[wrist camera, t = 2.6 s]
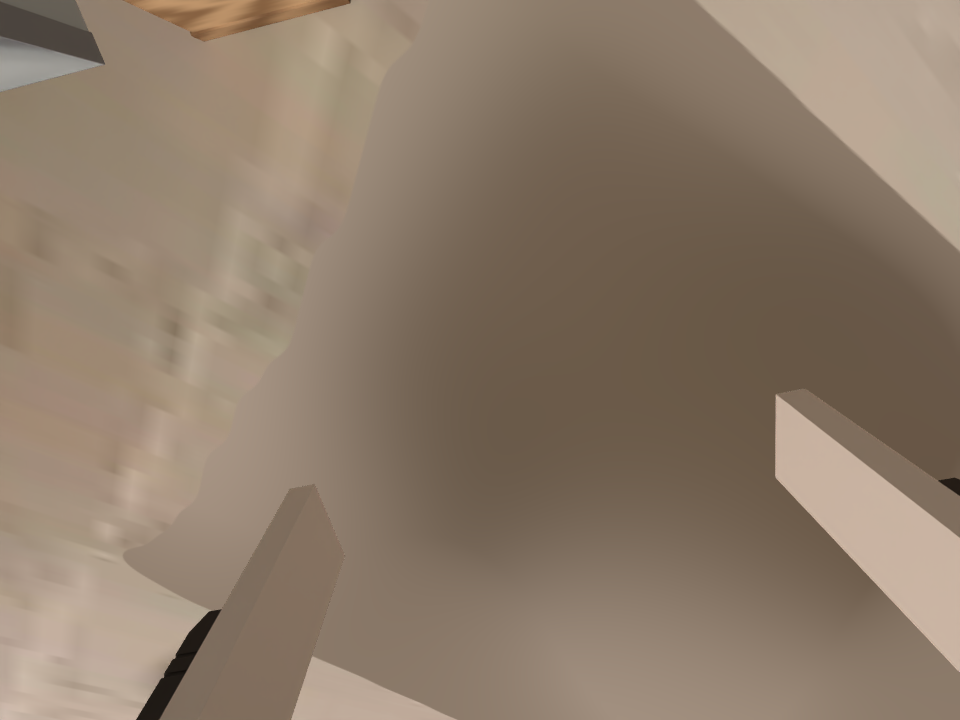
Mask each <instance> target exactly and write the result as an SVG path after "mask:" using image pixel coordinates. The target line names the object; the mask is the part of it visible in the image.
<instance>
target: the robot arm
mask: <svg viewBox="0 0 960 720" xmlns="http://www.w3.org/2000/svg"><path fill="white" fill-rule="evenodd" d="M775 477H776V478H777V479H778V481H779V482H780V483H781V484H782V485H783V486H784V487H785V488H786V489H787V490H788V491H789V492H790V493H791V494H792V495H793V496H794V497H795V499H796V500H798V502H799V503H800V504H801V505H802V506H803V507H804V508H805V509H806V510H807V511H808V512H809V513H810V514H811V515H812V517H813V518H814V519H815V520H816V521H817V522H818V523H819V524H820V525H821V526H822V527H823V528H824V529H825V530H826V531H827V532H828V533H829V534H830V535H831V537H832V538H833V539H834V540H835V541H836V542H837V543H838V544H839V545H840V546H841V547H842V548H843V549H844V550H845V551H846V552H847V553H848V555H849V556H850V557H851V558H852V559H853V560H854V561H855V562H856V563H857V564H858V565H859V566H860V567H861V568H862V569H863V571H864V572H865V573H866V574H867V575H868V576H869V577H870V578H871V579H872V580H873V581H874V582H875V583H876V584H877V585H878V586H879V587H880V588H881V590H882V591H883V592H884V593H885V594H886V595H887V596H888V597H889V598H890V599H891V600H892V601H893V602H894V603H895V604H896V606H897V607H898V608H900V610H901V611H902V612H903V613H904V614H905V615H906V616H907V617H908V618H909V619H910V620H911V621H912V622H913V623H914V625H915V626H916V627H917V628H918V629H919V630H920V631H921V632H922V633H923V634H924V635H925V636H926V637H927V638H928V639H929V640H930V642H932V644H933V645H934V646H935V647H936V648H937V649H938V650H939V651H940V652H941V653H942V654H943V655H944V656H945V657H946V658H947V659H948V661H949V662H950V663H951V664H952V665H953V666H954V667H955V668H956V669H957V670H958V671H959V672H960V480H959V479H957V478H951V479H945V480H939V481H937V480H936V479H934V478H933V477H931V476H930V475H929V474H927V473H926V472H924V471H923V470H921V469H920V468H918V467H917V466H916V465H914V464H913V463H911V462H910V461H908V460H907V459H905V458H904V457H903V456H901V455H900V454H898V453H897V452H895V451H894V450H893V449H891V448H890V447H888V446H887V445H885V444H884V443H882V442H881V441H880V440H878V439H877V438H875V437H874V436H872V435H871V434H870V433H868V432H867V431H865V430H864V429H862V428H861V427H859V426H858V425H857V424H855V423H854V422H852V421H851V420H849V419H848V418H846V417H845V416H844V415H842V414H841V413H839V412H838V411H836V410H835V409H834V408H832V407H831V406H829V405H828V404H826V403H825V402H824V401H822V400H821V399H819V398H818V397H816V396H815V395H813V394H812V393H811V392H809V391H808V390H806V389H800V390H795V391H790V392H785V393H780V394H776V476H775ZM344 557H345V555H344V552H343V550H342V548H341V545H340V543H339V541H338V538H337V536H336V533H335V531H334V529H333V526H332V524H331V522H330V519H329V517H328V514H327V512H326V510H325V507H324V505H323V502H322V500H321V498H320V495H319V493H318V491H317V488H316V486H315V484H312V485H307V486H302V487H297V488H292V489H290V490H289V491H288V493H287V495H286V497H285V499H284V500H283V502H282V504H281V505H280V507H279V509H278V511H277V513H276V514H275V516H274V518H273V520H272V522H271V523H270V525H269V527H268V528H267V530H266V532H265V534H264V535H263V537H262V539H261V541H260V543H259V545H258V546H257V548H256V550H255V552H254V553H253V555H252V557H251V558H250V560H249V562H248V564H247V566H246V567H245V569H244V571H243V573H242V574H241V576H240V578H239V580H238V582H237V583H236V585H235V587H234V589H233V590H232V592H231V594H230V596H229V597H228V599H227V601H226V603H225V604H224V606H223V608H222V609H221V610H215V611H209V612H208V613H207V614H206V615H205V616H204V617H203V618H202V619H201V621H200V622H199V623H198V624H197V625H196V626H195V627H194V628H193V629H192V630H191V631H190V632H189V633H188V635H187V637H186V638H185V640H184V642H183V643H182V645H181V647H180V648H179V650H178V652H177V653H176V658H175V659H173V660H172V662H171V663H170V665H169V666H168V668H167V670H166V671H165V673H164V678H161V680H160V681H159V683H158V685H157V686H156V688H155V690H154V691H153V693H152V694H151V696H150V698H149V699H148V701H147V703H146V704H145V706H144V708H143V709H142V711H141V713H140V714H139V716H138V718H137V719H136V720H291V718H292V715H293V712H294V709H295V706H296V703H297V700H298V696H299V693H300V690H301V687H302V684H303V681H304V678H305V675H306V672H307V669H308V666H309V663H310V660H311V657H312V654H313V651H314V648H315V645H316V642H317V639H318V636H319V633H320V630H321V627H322V624H323V621H324V618H325V615H326V611H327V609H328V606H329V603H330V600H331V597H332V594H333V591H334V588H335V585H336V581H337V578H338V575H339V572H340V569H341V566H342V563H343V560H344Z"/></svg>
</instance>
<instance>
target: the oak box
mask: <svg viewBox="0 0 960 720" xmlns="http://www.w3.org/2000/svg"><path fill="white" fill-rule="evenodd" d="M124 1H126V2H128V3H130V4H132V5H134V6H136V7H139V8H141V9H143V10H145V11H147V12H149V13H152V14H154V15H156V16H158V17H160V18H162V19H165V20H167V21H169V22H171V23H173V24H175V25H177V26H180V27H182V28H184V29H186V30H188V31H190V33H191V36H193V37H195V38H197V39H200V40H202V41H208V40H211V39H215V38H219V37H223V36H227V35H231V34H234V33H238V32H242V31H246V30H250V29H254V28H257V27H261V26H265V25H269V24H273V23H277V22H280V21H284V20H288V19H292V18H296V17H300V16H303V15H307V14H311V13H315V12H319V11H323V10H326V9H330V8H334V7H338V6H342V5H346V4H349V3H350V0H124Z"/></svg>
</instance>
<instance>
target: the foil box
mask: <svg viewBox="0 0 960 720" xmlns="http://www.w3.org/2000/svg"><path fill="white" fill-rule="evenodd" d="M102 65H105V63H104V60H103V58H102V56H101V53H100V51H99V49H98V46H97V44H96V42H95V39H94V37H93V35H92V33H91V32H89V31H88V29H87V26H86V24H85V22H84V19H83V17H82V15H81V12H80V10H79V8H78V5H77V3H76V1H75V0H0V92H2V91H6V90H10V89H14V88H18V87H22V86H25V85H29V84H33V83H37V82H41V81H44V80H48V79H52V78H56V77H60V76H64V75H67V74H71V73H75V72H79V71H83V70H86V69H90V68H94V67H98V66H102Z"/></svg>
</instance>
